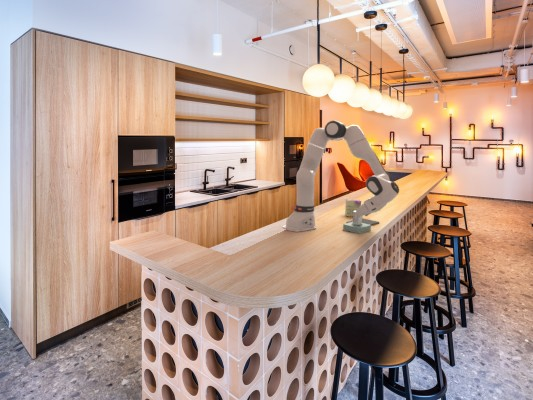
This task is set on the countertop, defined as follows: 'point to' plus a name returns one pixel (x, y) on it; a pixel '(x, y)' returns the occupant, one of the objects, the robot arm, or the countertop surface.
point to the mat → (367, 221)
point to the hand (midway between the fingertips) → (361, 216)
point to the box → (351, 206)
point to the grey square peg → (357, 221)
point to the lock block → (357, 227)
